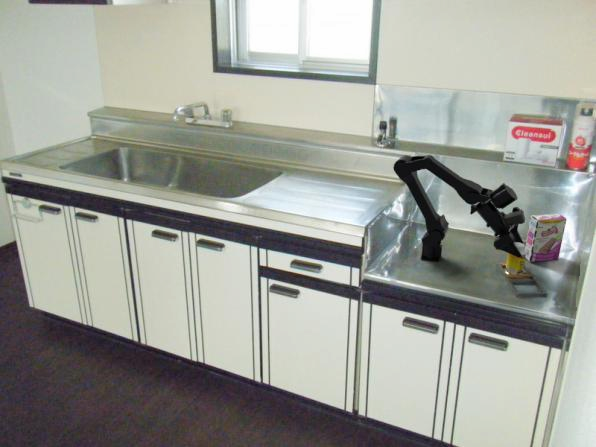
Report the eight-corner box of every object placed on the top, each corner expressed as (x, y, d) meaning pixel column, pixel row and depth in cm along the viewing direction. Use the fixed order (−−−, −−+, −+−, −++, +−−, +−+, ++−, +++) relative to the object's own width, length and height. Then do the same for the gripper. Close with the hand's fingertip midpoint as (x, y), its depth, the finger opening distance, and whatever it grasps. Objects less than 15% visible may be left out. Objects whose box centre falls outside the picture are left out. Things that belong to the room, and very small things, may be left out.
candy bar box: (530, 263, 203) (537, 220, 197) (522, 257, 208) (529, 215, 201) (559, 260, 205) (567, 218, 198) (551, 254, 209) (558, 212, 203)
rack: (547, 297, 181) (547, 294, 181) (516, 297, 182) (516, 293, 181) (523, 265, 202) (524, 262, 201) (496, 265, 202) (496, 262, 201)
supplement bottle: (519, 277, 194) (524, 249, 190) (503, 272, 197) (507, 245, 193) (524, 270, 198) (529, 243, 194) (508, 266, 201) (512, 239, 197)
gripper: (509, 212, 181) (541, 250, 181) (515, 193, 197) (544, 228, 197) (480, 231, 187) (511, 267, 187) (488, 211, 203) (517, 245, 203)
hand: (522, 251), depth 193 cm, fingers open, 9 cm apart
